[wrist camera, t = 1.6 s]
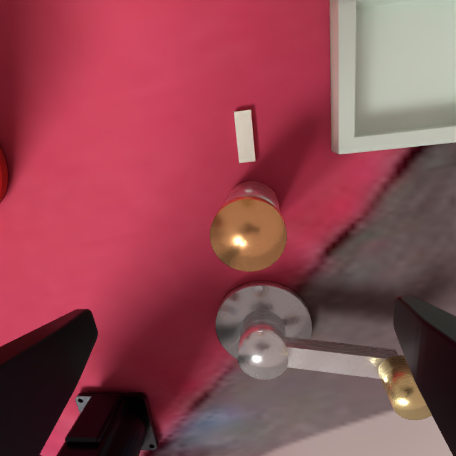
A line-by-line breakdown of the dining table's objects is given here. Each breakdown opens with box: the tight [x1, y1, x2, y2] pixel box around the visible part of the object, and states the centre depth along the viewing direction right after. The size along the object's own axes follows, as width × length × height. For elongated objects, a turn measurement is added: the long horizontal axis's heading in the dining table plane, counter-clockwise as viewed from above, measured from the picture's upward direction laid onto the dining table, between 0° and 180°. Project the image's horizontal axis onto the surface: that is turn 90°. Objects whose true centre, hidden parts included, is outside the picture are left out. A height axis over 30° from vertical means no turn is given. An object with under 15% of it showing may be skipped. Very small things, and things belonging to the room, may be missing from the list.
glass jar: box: [210, 181, 287, 271], centre depth 18 cm, size 4×4×6 cm
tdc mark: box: [234, 110, 255, 163], centre depth 19 cm, size 3×1×1 cm, turn 7°
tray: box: [330, 0, 456, 154], centre depth 16 cm, size 8×8×2 cm
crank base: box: [216, 281, 312, 359], centre depth 23 cm, size 7×7×1 cm
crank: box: [238, 310, 432, 420], centre depth 20 cm, size 11×3×5 cm, turn 87°
